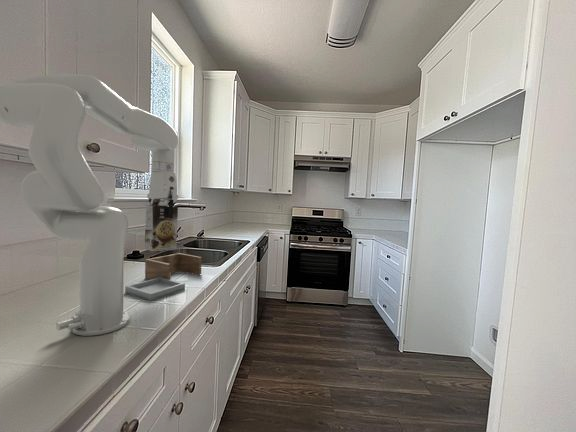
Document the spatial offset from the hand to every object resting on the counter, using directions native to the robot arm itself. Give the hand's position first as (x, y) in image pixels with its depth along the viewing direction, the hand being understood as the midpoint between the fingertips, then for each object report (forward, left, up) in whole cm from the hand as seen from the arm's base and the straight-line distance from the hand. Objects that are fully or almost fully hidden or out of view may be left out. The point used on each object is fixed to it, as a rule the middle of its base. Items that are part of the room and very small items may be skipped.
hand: (161, 217), depth 99 cm
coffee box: (0, 0, -12) cm, 12 cm away
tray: (-2, 0, -27) cm, 27 cm away
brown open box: (+14, +10, -27) cm, 32 cm away
